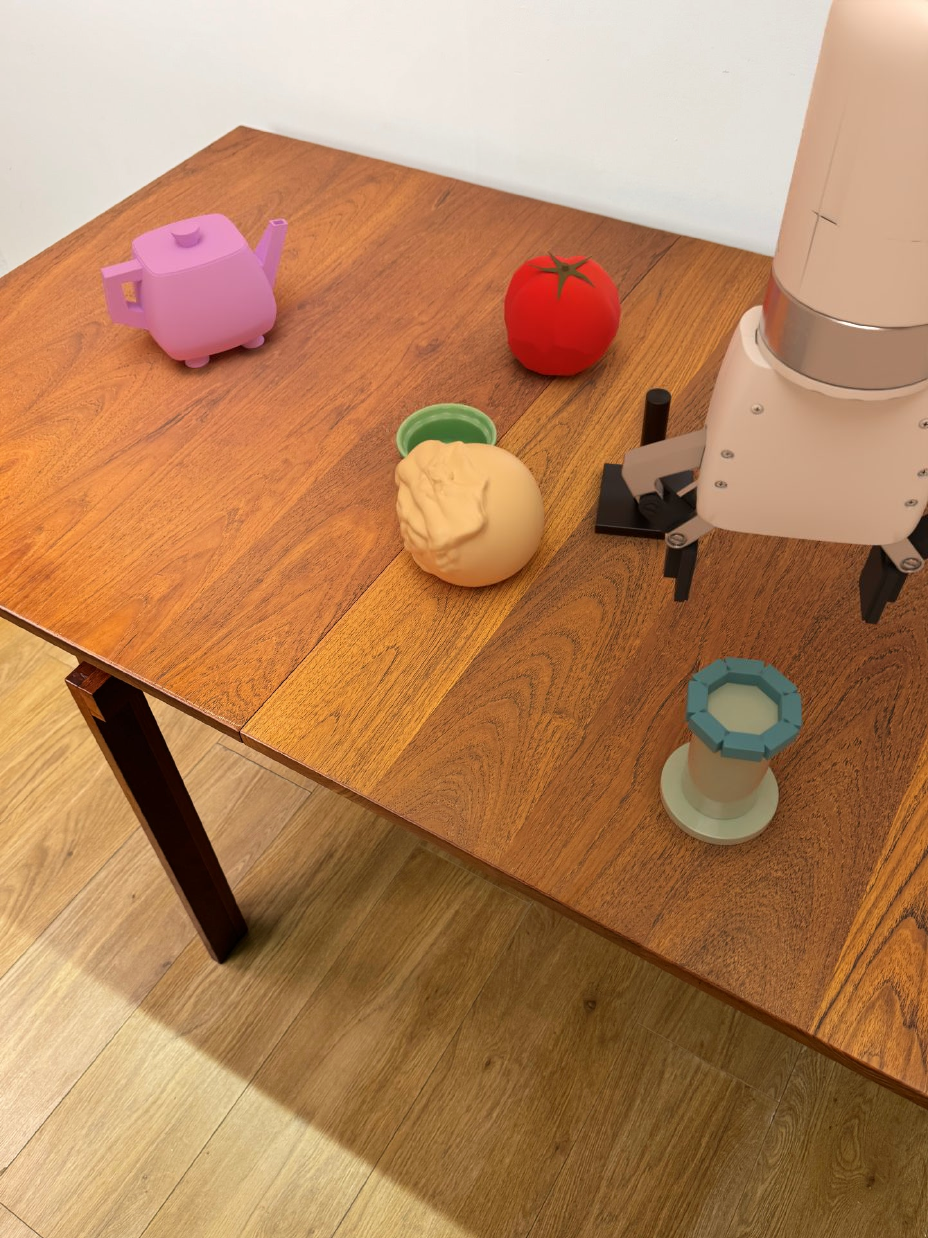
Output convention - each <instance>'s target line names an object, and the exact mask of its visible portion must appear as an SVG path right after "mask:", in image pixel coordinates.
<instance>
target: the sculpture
mask: <svg viewBox="0 0 928 1238" xmlns="http://www.w3.org/2000/svg"><path fill="white" fill-rule="evenodd" d="M394 483H395V485H396V487H397V490H398V492H397V496H396V497H397V500H396V502H395V509H396V514H397V519H398V523H399V526H400V527H399V532H400V536H401V537H402V538H403V539H404V541H403V548H404V550H405V551H407V552H409V553H410V554H411V558H412V559H413V561H414V562H415V563H416V565H418V567H420V569H421V570H422V571H423V572H425V573H426V574H427V573H428V574H432V575H434V576H436V577H437V578H438V579H440V580H442V581H444V582H446V583H449V584H452V585H455V586H459V587H460V586H461V587H468V588H469V587H470V588H478V587H485V586H490V585H494V584H497V583H500V582H502V581H504V580H506V579H508V578H510V577H512V576H514V575H515V574H516V573H518V572H519V571H521V569H523V568H524V567H525V566H526V565H527V564H528V563H529V562H530V560H531V559H532V558H533V556H534V555H535V553H536V552H537V550H538V548H539V546H540V543H541V542H542V541H541V540H542V537H543V534H544V531H545V530H544V529H545V505H544V501H543V500H544V499H543V496H542V493H541V490H540V487H539V485H538V483H537V481H536V479H535V477H534V475H533V473H532V472H531V470H530V469H529V468H528V467H527V466H526V464H524V463H523V462H522V460H520V458H518V457H517V456H515V454H513V453H511V452H509V451H508V450H506V449H504V448H502V447H499V446H496V445H495V446H493V445H488V444H481V443H467V444H464V443H463V442H461V441H456V442H453V443H449V444H445V443H442V442H441V441H439V440H427V441H424V442H422V443H420V444H419V445H417V446H416V447H415V448H414V449H413V450H412V451H411V452H410V453H409V454H408V456H407V457H406V458H404V459H403V460H402V459H401V460H400V461H399V462H398V464H397V465H396V467H395V471H394Z"/></svg>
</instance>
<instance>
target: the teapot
mask: <svg viewBox="0 0 928 1238" xmlns="http://www.w3.org/2000/svg"><path fill="white" fill-rule="evenodd" d="M288 230H289V223H288V222H287V220H286V219H285V218H278V219H277V218H276V219H271V220H268V224H267V227H266V228H265V230H264V232H263V234H262V236H261V238H260V240H259V242H258V243H257V245H256V247H255V249H254V250H252V248H251V247H250V244H249V243H248V241H247V240H246V239H245V237H244V236H243V235H242V233H241V232H240V230H239V229H238V228H237V226H236V225H235V224H234V223H233V222H232V221H231V220H230V219H229V217H228V216H226V215H223V213H208V214H203V215H198V216H194V217H189V218H186V219H180V220H178V221H175V222H172V223H169V224H166V225H162V226H160V227H157V228H155V229H152V230H149V231H146V232H144V233H142V234H141V235H139V236H137V237H136V238H134V239H133V241H132V242H131V251H130V254H131V255H130V257H131V258H130V260H127V261H124V262H120V263H116V264H112V265H109V266H105V267H101V268H100V274H101V279H102V285H103V293H104V296H105V302H106V308H107V314H108V316H109V318H110V320H111V322H112V323H114V324H117V325H118V324H119V325H123V326H127V327H131V328H137V329H141V330H146V331H147V332H148V333H149V334H150V336H151V337H152V339H153V340H154V341H155V342H156V344H157V345H158V346H159V347H160V348H161V349H162V350H163V351H164V352H165V354H167V355H168V356H169V357H170V358H171V359H173V360H176V361H184V364H185V366H186V367H188V368H193V369H194V368H197V369H198V368H201V367H204V366H205V365H207V364H208V363H209V361H210V356H211V355H215V354H219V353H222V352H225V351H229V350H231V349H234V348H236V347H239V346H242V347H243V348H245V349H255V348H259V347H261V346H262V345H263V344H264V342H265V337H264V336H263V335H265V334H266V333H268V332H269V331H271V330H272V329H273V328H274V324H275V322H276V318H277V311H278V310H277V303H276V299H275V296H274V292H273V290H274V287H275V283H276V278H277V275H278V271H279V266H280V262H281V259H282V258H281V257H282V253H283V249H284V246H285V242H286V236H287V233H288ZM126 283H132V289H133V295H134V300H135V301H131V300H126V296H125V292H124V289H123V285H122V284H126Z"/></svg>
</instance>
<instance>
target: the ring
mask: <svg viewBox="0 0 928 1238" xmlns="http://www.w3.org/2000/svg"><path fill="white" fill-rule="evenodd" d="M725 683H735V684H744V685H752V686H757V687H758V688H759V689H760V690H761V691H763V692H764V693H765V694H766V695H767V696H768V697H769V698H770V699H771V700H773V701H774V702H775V703H776V704H777V705H778V723H776V724H775V725H773V726H772V727H770V728H769V729H768V730H766V731H765V732H763V733H762V734H760V735H758V734H750V733H742V732H734V731H728V730H727V729H726V728H725V727H724V726H723V725H722V724H721V723H720V722H719V721H718V720H716V719H715V718H714V717H713V716H712V715H711V714H710V713H709V712H708V711H707V706H708V695H709V694H710V693H712V692H713V691H715V690H716V689H718V688H719V687H721V686H722V685H724V684H725ZM798 690H799V688H798V687H797V686H796V685H795V684H794V682H793V683H792V681H790V680H789V679H788V678H787V677H786V676H785V675H784V674H783V673H782V672H780V671H779V670H778V669H777V668H776V667H774V665H773V664H771V663H769V664H768V665H766V666H765V661H764V660H758V659H757V660H756V659H749V658H739V657H732V656H725V658H724V660H723V659H722V658H720V657H719V658H718V659H716V660H715V661H713V662H711V663H710V664H709V665H707V666H705V667H704V668H702V669H700V670H699V671H697V672H695V673H694V674H693V675H692V676H691V679H690V680H688V683H687V688H686V696H685V697H686V699H685V715H684V722H685V723H688V724H687V728H688V730H690V731H691V732H693V733H694V734H695V735H696V736H697V737H698V738H699V739H700V740H701V741H702V742H703V743H704V744H705V745H706V746H707V747H708V748H709V749H710V750H711V751H712V752H713V753H716V752H718V751H719V750H721V754H720V756H721V757H725V758H732V759H740V760H748V761H755V762H761V761H762V758H763V757H764V758H765V759H766V760H767V761H768V760H769V759H771V758H772V759H773V758H774V757H775V756H776V755H778V754H779V753H781V752H783V751H784V750H785V749H786V748H788V747H789V746H791V745H793V743H795V742H796V741H797V738H798V736H799V735H800V732H801V730H802V727H803V713H802V712H803V711H802V694H801V693H798ZM772 759H771V760H772Z"/></svg>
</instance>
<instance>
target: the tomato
mask: <svg viewBox="0 0 928 1238" xmlns="http://www.w3.org/2000/svg"><path fill="white" fill-rule="evenodd" d="M547 252H548V254H547V255H538V256H535V257H533V258H531V259H528V260H527V261H525V262H524V263H523V264H522V265H521V266H520V267H519V268H517V270H516V271H514V273H513V274H512V277H511V279H510V282H509V283H508V287H507V291H506V294H505V297H504V300H503V302H504V304H503V309H504V310H503V311H504V312H503V313H504V314H503V319H504V324H505V327H506V332H507V345H508V347H509V349H510V352H511V353H512V354H513V356H514V357H515V358H516V359H517V360H518V362H520V363H521V364H522V366H524V367H525V368H526V369H528V370H531V371H533V372H535V373H538V374H540V375H543V376H574V375H576V374H578V373H581V372H582V371H585V370H586V369H588V368H589V367H591V366H593V365H594V364H596V363H597V362H598V361H600V360H601V359H602V358H603V357H604V355H605V353H606V352H607V351H608V348H609V347H610V346H611V344H612V342H613V341H614V340H615V337H616V336H617V333H618V330H619V327H620V321H621V313H622V307H621V301H620V294H619V290H618V288H617V286H616V285H615V283H614V281H613V280H612V278H611V277H610V275H609V274H608V273H607V272H606V271H605V269H604V268H603V267H602V266H601V265H600V264H599V263H598V262H596V261H594V260H593V259H592V257H593V255H591V256H588V257H587V256H583V255H579V254H577V255H573V256H570V257H567V258H566V257H563V256H560V255H557V254H556V255H555V254H552V252H550V251H549V250H547Z"/></svg>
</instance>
